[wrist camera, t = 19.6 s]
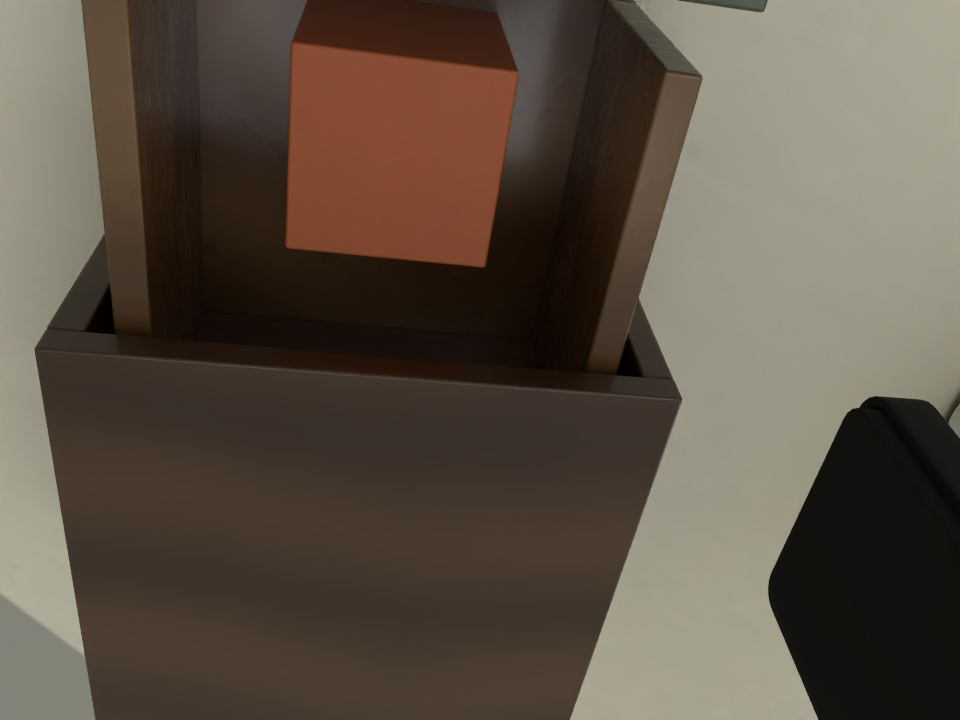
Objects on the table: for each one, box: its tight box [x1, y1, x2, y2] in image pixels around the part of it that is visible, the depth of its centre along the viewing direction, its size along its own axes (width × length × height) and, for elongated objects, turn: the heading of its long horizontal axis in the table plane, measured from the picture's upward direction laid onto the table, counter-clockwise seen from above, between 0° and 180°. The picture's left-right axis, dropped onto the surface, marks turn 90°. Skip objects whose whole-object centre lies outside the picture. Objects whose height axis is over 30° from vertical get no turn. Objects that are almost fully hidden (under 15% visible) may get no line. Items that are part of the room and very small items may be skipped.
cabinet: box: [35, 234, 682, 720], centre depth 27 cm, size 15×14×9 cm
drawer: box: [81, 0, 767, 375], centre depth 20 cm, size 19×13×7 cm
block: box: [285, 0, 519, 268], centre depth 21 cm, size 5×5×5 cm
